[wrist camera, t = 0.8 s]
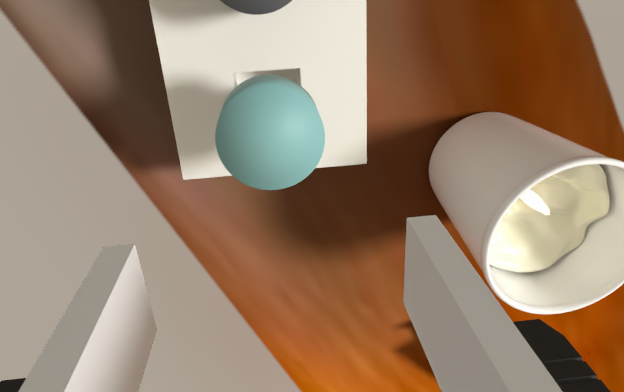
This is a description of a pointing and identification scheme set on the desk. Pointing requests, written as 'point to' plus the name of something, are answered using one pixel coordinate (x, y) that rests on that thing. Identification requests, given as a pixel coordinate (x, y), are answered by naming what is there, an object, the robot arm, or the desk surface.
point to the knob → (269, 133)
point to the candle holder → (533, 211)
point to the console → (262, 70)
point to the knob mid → (256, 5)
